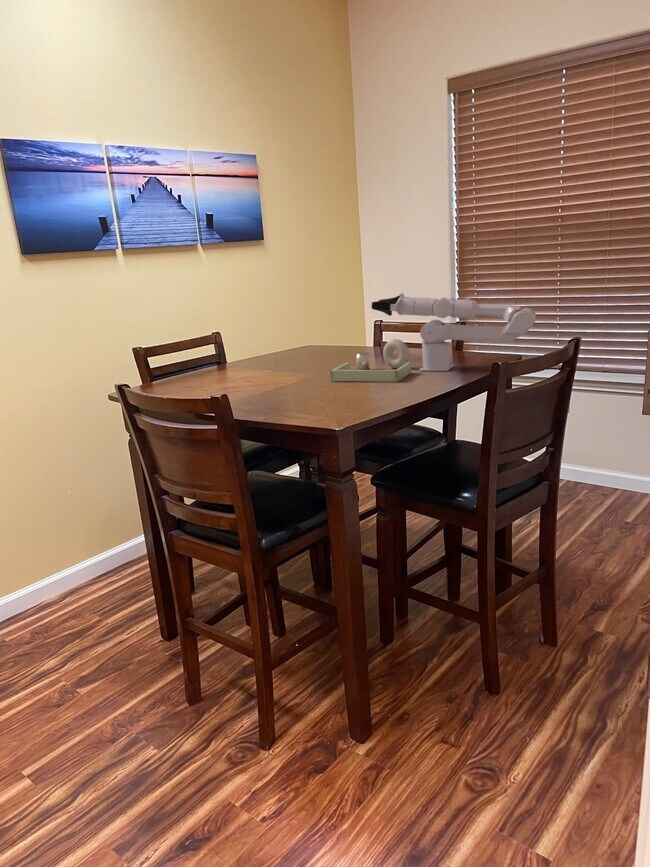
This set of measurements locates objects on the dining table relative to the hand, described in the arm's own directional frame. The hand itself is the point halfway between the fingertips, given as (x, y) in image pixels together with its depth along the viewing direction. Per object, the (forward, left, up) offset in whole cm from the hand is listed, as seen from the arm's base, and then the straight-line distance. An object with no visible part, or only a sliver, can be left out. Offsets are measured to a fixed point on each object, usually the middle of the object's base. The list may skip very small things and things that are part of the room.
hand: (375, 304), depth 215 cm
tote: (-2, +14, -22) cm, 26 cm away
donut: (-6, -1, -22) cm, 23 cm away
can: (+5, +2, -22) cm, 22 cm away
